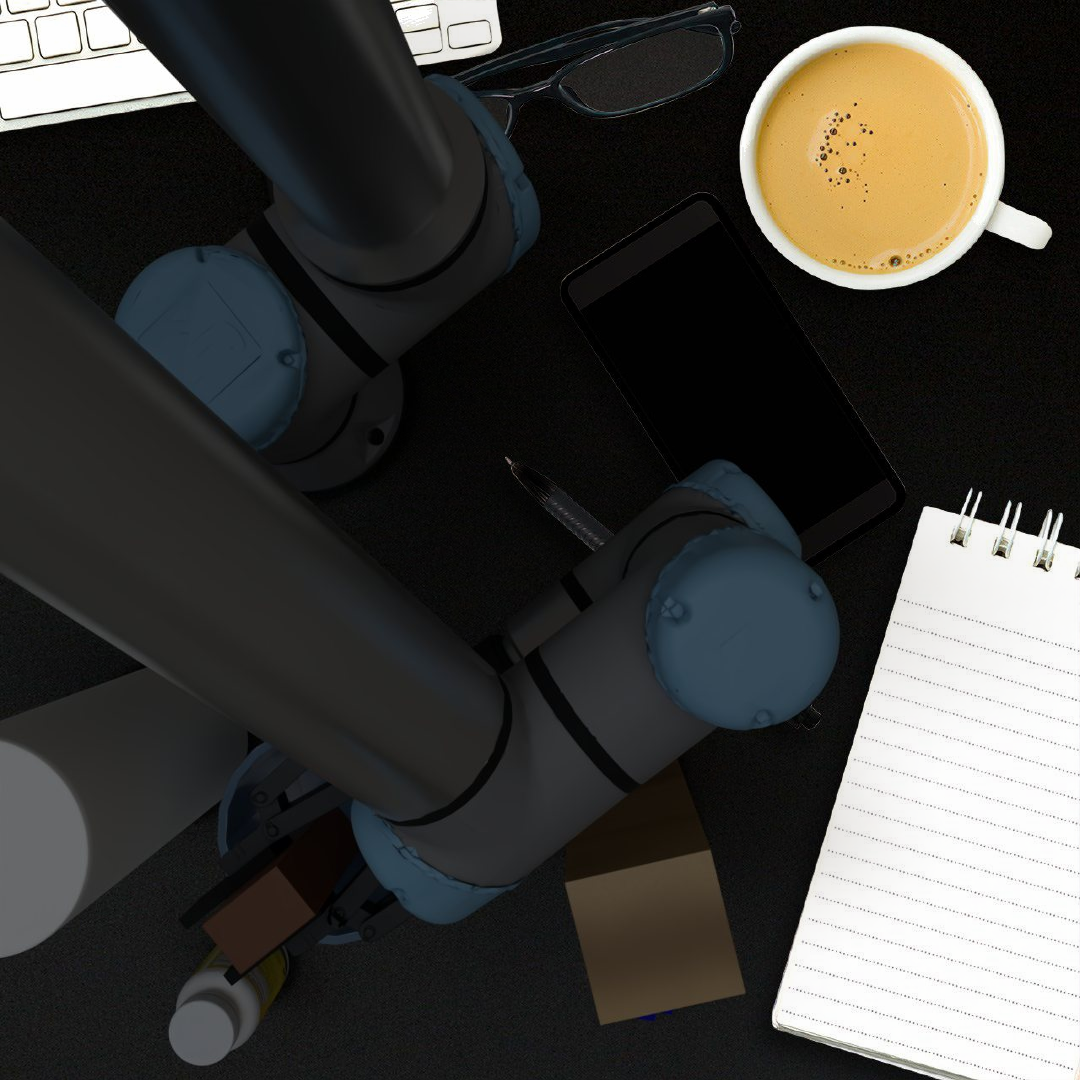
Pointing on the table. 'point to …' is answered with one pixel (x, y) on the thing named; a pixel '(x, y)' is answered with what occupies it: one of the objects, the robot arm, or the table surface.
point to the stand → (650, 905)
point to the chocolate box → (284, 891)
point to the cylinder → (101, 793)
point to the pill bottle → (223, 1007)
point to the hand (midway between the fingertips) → (215, 941)
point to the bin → (245, 817)
